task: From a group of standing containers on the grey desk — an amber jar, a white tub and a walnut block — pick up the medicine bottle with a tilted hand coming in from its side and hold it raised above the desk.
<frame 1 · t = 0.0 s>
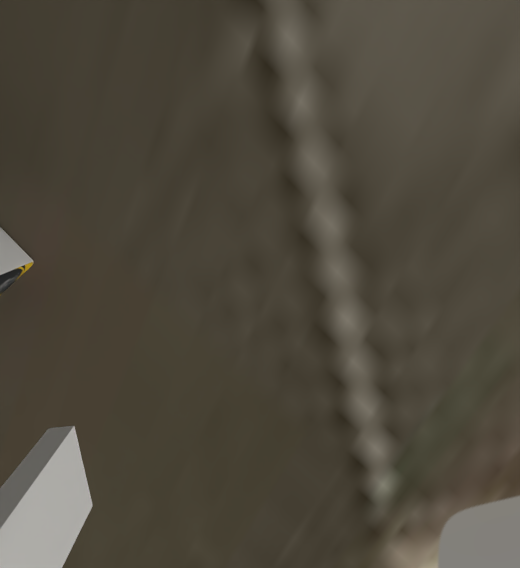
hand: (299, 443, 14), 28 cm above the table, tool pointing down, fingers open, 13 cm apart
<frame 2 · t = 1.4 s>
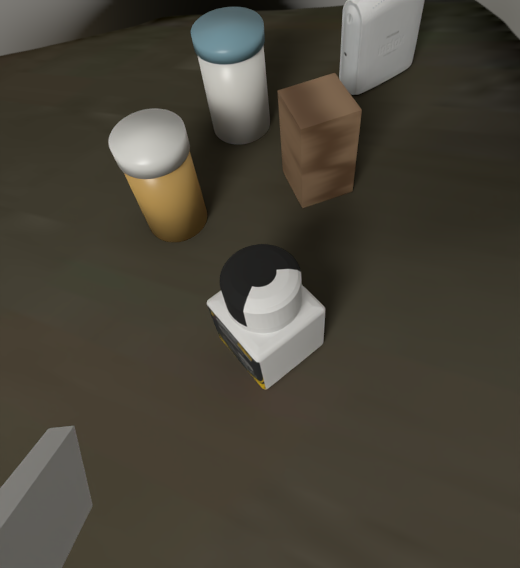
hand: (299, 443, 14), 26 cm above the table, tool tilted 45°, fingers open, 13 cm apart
photo printer: (374, 77, 63), on the table
medicine bottle: (271, 340, 45), on the table
white tub: (241, 124, 60), on the table
walnut block: (317, 181, 54), on the table
amber jar: (178, 218, 53), on the table
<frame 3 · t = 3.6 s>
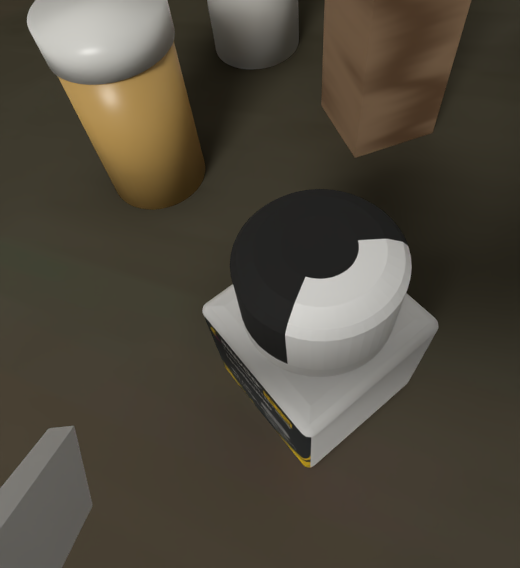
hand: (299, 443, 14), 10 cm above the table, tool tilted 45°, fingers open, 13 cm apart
medicine bottle: (314, 374, 26), on the table
white tub: (256, 42, 41), on the table
walnut block: (375, 118, 35), on the table
amber jar: (159, 173, 34), on the table
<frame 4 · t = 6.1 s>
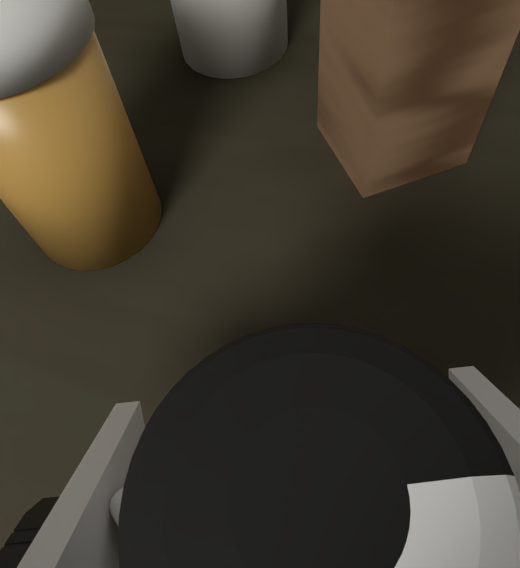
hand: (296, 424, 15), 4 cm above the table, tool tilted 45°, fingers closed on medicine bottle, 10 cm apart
medicine bottle: (309, 541, 17), on the table, touching gripper
white tub: (235, 45, 32), on the table
walnut block: (388, 143, 26), on the table
amber jar: (100, 218, 25), on the table
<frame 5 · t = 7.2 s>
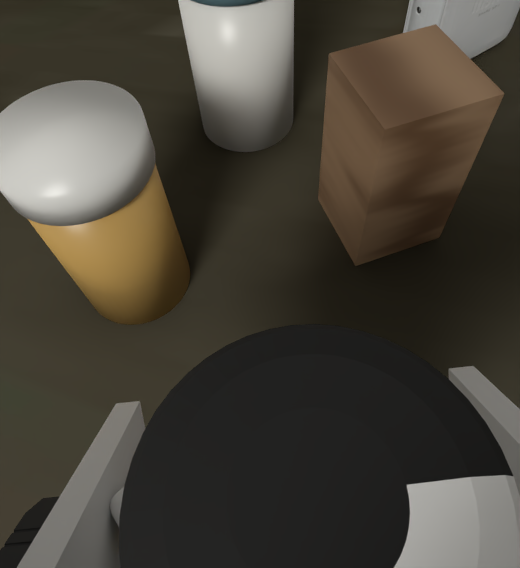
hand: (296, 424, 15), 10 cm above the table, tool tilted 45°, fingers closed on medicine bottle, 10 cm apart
photo printer: (450, 53, 41), on the table
medicine bottle: (309, 541, 17), point 6 cm above the table, touching gripper
white tub: (247, 119, 38), on the table
walnut block: (376, 217, 32), on the table
amber jar: (139, 278, 31), on the table
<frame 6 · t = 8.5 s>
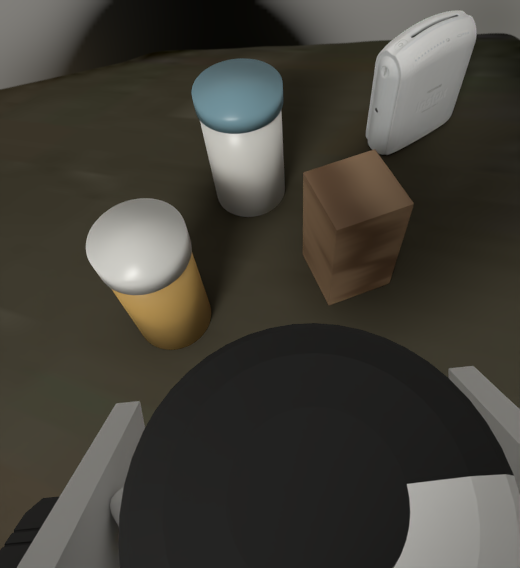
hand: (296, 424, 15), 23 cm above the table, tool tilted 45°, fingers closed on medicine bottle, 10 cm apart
photo printer: (406, 132, 53), on the table
medicine bottle: (309, 541, 17), point 18 cm above the table, touching gripper
white tub: (250, 190, 50), on the table
walnut block: (345, 268, 44), on the table
amber jar: (175, 316, 43), on the table
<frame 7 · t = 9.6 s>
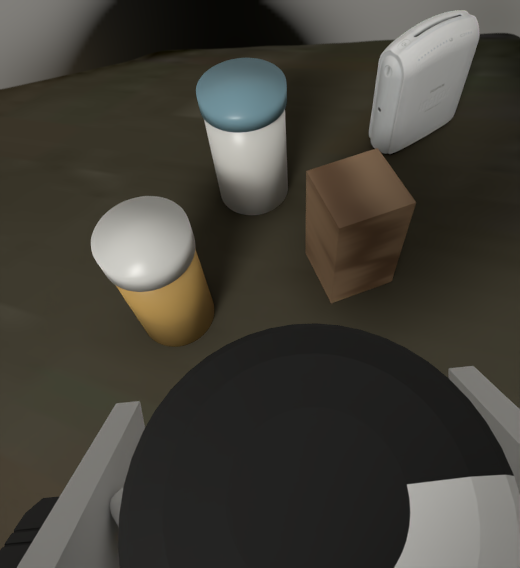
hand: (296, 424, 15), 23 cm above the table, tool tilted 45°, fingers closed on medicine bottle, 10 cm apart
photo printer: (409, 131, 53), on the table
medicine bottle: (309, 541, 17), point 19 cm above the table, touching gripper
white tub: (254, 188, 51), on the table
walnut block: (347, 266, 45), on the table
amber jar: (178, 313, 43), on the table
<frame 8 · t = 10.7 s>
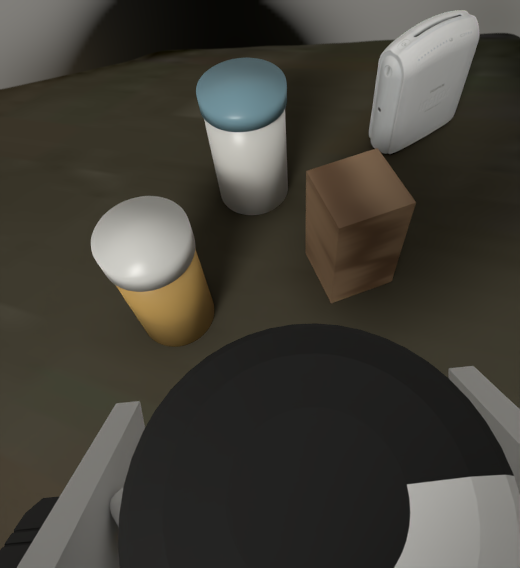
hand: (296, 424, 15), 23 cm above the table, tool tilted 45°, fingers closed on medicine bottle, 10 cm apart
photo printer: (409, 131, 53), on the table
medicine bottle: (309, 541, 17), point 19 cm above the table, touching gripper
white tub: (254, 188, 51), on the table
walnut block: (347, 266, 45), on the table
amber jar: (178, 313, 43), on the table
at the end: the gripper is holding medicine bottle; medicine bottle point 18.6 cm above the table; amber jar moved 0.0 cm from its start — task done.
